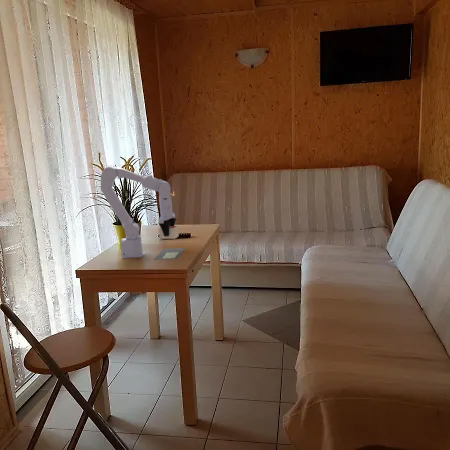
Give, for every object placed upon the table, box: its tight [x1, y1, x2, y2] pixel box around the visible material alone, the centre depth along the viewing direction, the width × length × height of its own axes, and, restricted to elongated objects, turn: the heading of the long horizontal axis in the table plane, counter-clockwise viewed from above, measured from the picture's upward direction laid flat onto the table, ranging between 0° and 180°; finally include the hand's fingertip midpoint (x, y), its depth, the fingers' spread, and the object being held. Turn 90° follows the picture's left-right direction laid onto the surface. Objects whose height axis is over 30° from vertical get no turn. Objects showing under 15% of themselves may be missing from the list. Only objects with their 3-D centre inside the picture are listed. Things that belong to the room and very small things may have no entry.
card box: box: [158, 225, 180, 240], centre depth 212 cm, size 8×4×5 cm, turn 74°
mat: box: [153, 247, 186, 261], centre depth 210 cm, size 11×18×1 cm, turn 173°
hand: (168, 234), depth 212 cm, fingers closed on card box, 4 cm apart
